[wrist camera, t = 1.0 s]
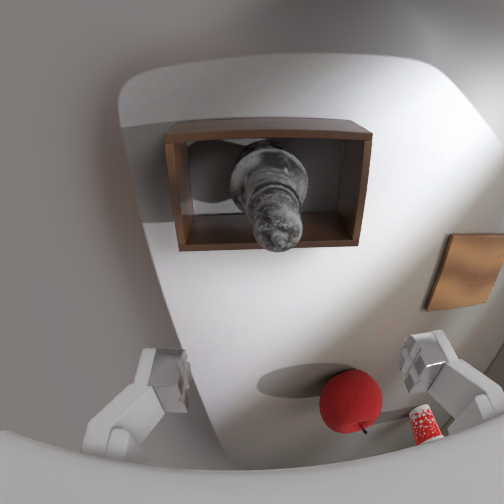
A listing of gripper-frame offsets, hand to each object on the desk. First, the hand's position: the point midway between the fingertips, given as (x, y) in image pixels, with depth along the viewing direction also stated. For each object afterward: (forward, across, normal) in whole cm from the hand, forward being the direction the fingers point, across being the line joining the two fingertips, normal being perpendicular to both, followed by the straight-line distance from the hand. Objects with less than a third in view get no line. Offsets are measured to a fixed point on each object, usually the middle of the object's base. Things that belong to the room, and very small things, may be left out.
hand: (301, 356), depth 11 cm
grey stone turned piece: (+19, 0, 0) cm, 19 cm away
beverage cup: (+19, -32, +48) cm, 60 cm away
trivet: (+19, -26, +12) cm, 34 cm away
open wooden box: (+19, 0, 0) cm, 19 cm away
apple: (+19, -12, +31) cm, 38 cm away
